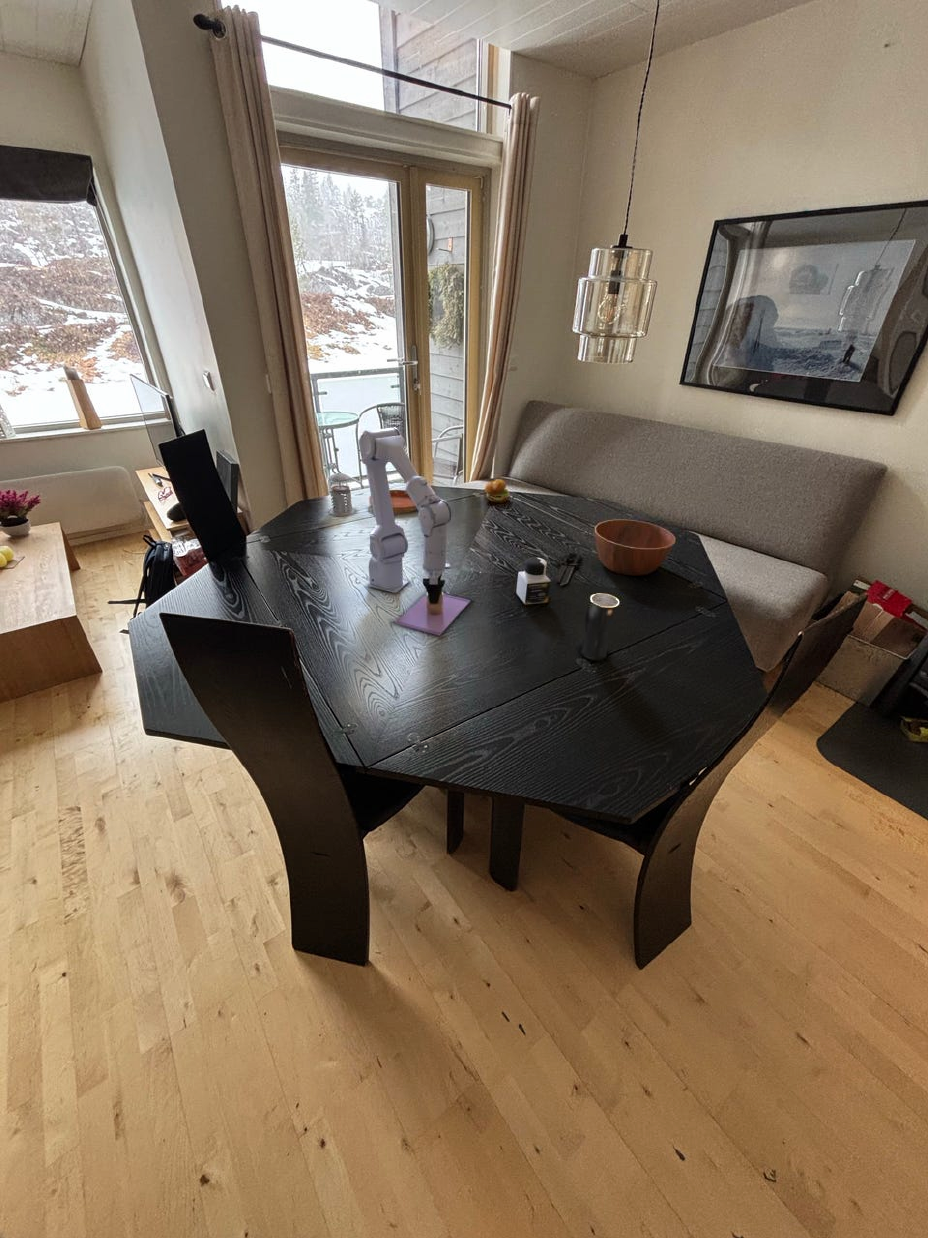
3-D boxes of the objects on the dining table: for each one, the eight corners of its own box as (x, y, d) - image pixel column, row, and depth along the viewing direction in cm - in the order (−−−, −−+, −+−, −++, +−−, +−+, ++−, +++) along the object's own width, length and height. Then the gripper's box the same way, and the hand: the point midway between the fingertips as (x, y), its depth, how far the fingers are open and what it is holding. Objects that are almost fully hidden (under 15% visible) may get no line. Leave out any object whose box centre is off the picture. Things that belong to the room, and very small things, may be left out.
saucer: (404, 494, 222) (404, 486, 220) (435, 508, 207) (436, 499, 206) (359, 503, 209) (358, 495, 207) (389, 519, 195) (389, 510, 193)
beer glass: (587, 642, 126) (597, 589, 118) (613, 653, 122) (625, 599, 114) (574, 654, 121) (583, 600, 113) (600, 665, 118) (612, 611, 110)
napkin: (394, 623, 130) (394, 622, 130) (429, 591, 146) (429, 590, 146) (439, 636, 126) (439, 634, 126) (470, 601, 142) (470, 600, 142)
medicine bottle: (524, 605, 141) (529, 566, 135) (515, 593, 147) (519, 555, 140) (547, 602, 143) (553, 564, 136) (538, 591, 149) (543, 553, 142)
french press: (347, 506, 206) (341, 443, 193) (361, 514, 199) (356, 449, 186) (325, 510, 201) (318, 446, 188) (339, 519, 193) (332, 452, 180)
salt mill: (423, 612, 135) (423, 588, 131) (431, 605, 138) (431, 581, 134) (438, 616, 133) (438, 592, 130) (445, 609, 137) (445, 585, 133)
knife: (564, 588, 151) (565, 584, 150) (544, 583, 153) (544, 579, 152) (584, 557, 170) (585, 554, 169) (566, 553, 172) (567, 550, 172)
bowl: (574, 563, 166) (579, 531, 160) (614, 544, 181) (620, 514, 175) (643, 591, 151) (651, 556, 145) (680, 567, 166) (689, 535, 160)
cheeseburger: (515, 501, 218) (513, 479, 212) (495, 510, 215) (492, 488, 208) (502, 494, 225) (499, 473, 219) (482, 502, 222) (479, 482, 216)
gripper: (450, 561, 120) (449, 610, 127) (450, 538, 133) (449, 583, 140) (421, 560, 120) (421, 609, 127) (423, 537, 132) (424, 582, 140)
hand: (434, 595), depth 133 cm, fingers open, 7 cm apart
